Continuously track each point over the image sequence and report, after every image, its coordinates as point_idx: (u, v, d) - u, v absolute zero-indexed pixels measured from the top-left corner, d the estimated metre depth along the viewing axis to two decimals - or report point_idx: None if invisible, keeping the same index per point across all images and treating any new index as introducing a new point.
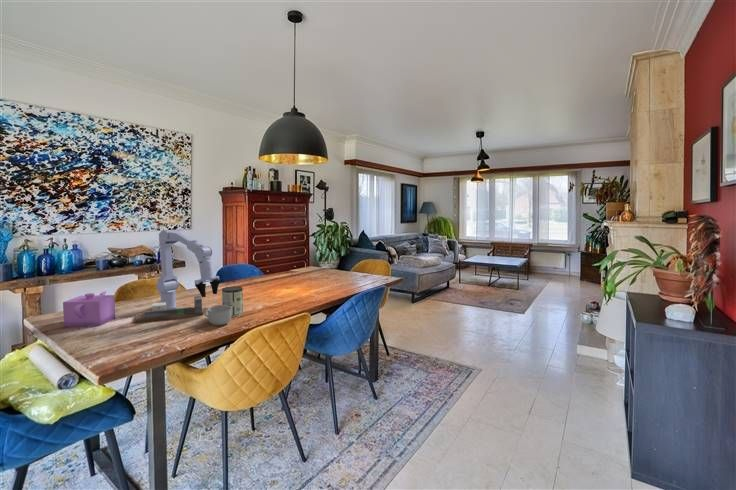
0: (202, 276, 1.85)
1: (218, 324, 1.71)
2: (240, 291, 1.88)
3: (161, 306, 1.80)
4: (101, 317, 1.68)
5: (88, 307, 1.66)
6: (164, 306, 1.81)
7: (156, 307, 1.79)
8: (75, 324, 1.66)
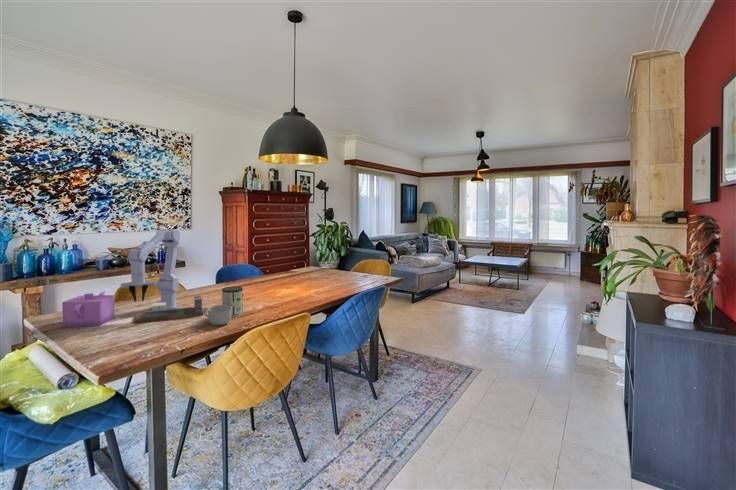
0: None
1: (218, 324, 1.71)
2: (240, 291, 1.88)
3: (161, 306, 1.80)
4: (100, 317, 1.68)
5: (88, 307, 1.66)
6: (164, 306, 1.81)
7: (156, 307, 1.79)
8: (75, 324, 1.66)
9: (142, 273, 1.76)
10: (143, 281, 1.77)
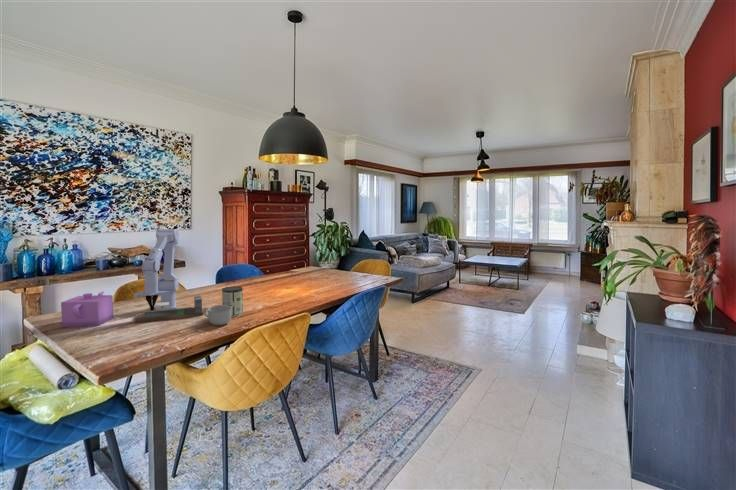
0: (145, 290, 1.79)
1: (218, 324, 1.71)
2: (240, 291, 1.88)
3: (164, 306, 1.81)
4: (99, 317, 1.68)
5: (87, 307, 1.66)
6: (167, 306, 1.82)
7: (159, 307, 1.80)
8: (73, 324, 1.66)
9: (156, 283, 1.80)
10: (156, 291, 1.80)
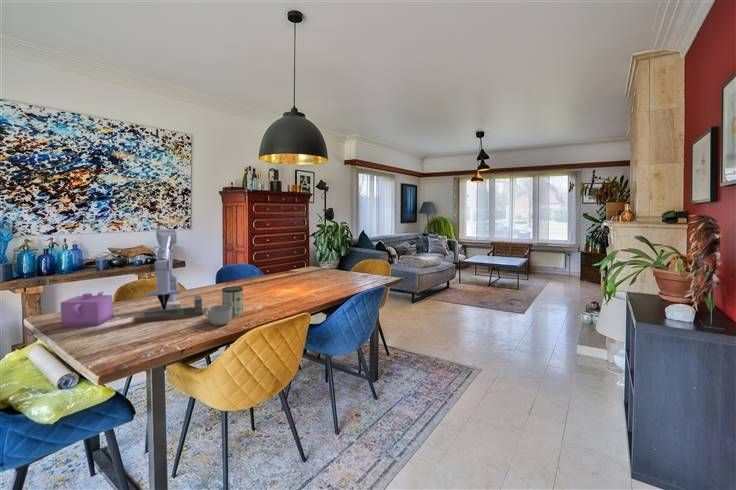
0: (157, 289, 1.82)
1: (218, 324, 1.71)
2: (240, 291, 1.88)
3: (176, 305, 1.84)
4: (99, 317, 1.68)
5: (86, 307, 1.66)
6: (179, 305, 1.84)
7: (171, 306, 1.83)
8: (73, 324, 1.66)
9: (169, 282, 1.83)
10: (168, 290, 1.82)
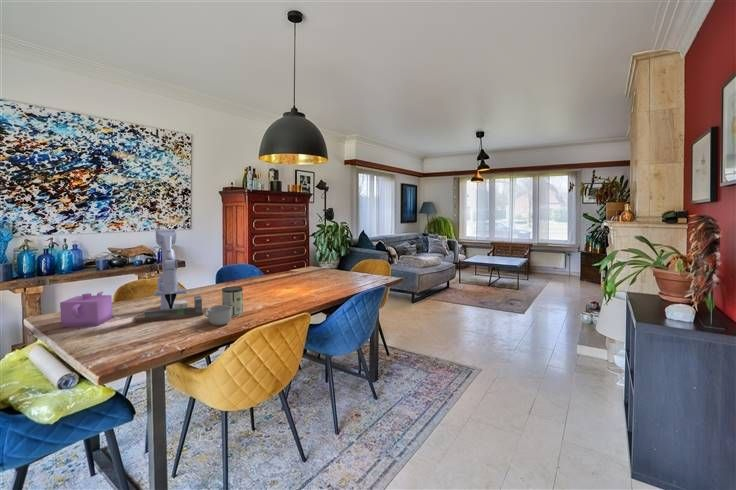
0: (164, 288, 1.83)
1: (218, 324, 1.71)
2: (240, 291, 1.88)
3: (183, 304, 1.85)
4: (99, 317, 1.68)
5: (86, 307, 1.66)
6: (186, 304, 1.86)
7: (178, 305, 1.84)
8: (73, 324, 1.66)
9: (176, 281, 1.85)
10: (175, 290, 1.84)
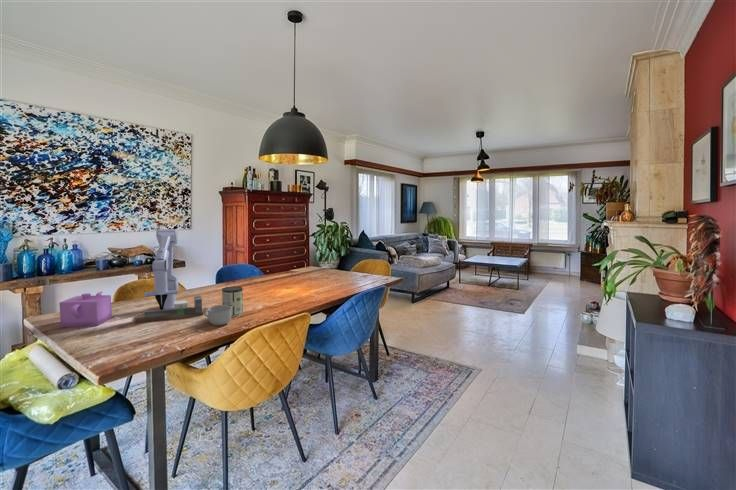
0: None
1: (218, 324, 1.71)
2: (240, 291, 1.88)
3: (183, 304, 1.85)
4: (98, 317, 1.68)
5: (85, 307, 1.66)
6: (186, 304, 1.86)
7: (178, 305, 1.84)
8: (72, 324, 1.65)
9: (166, 282, 1.82)
10: (166, 290, 1.82)
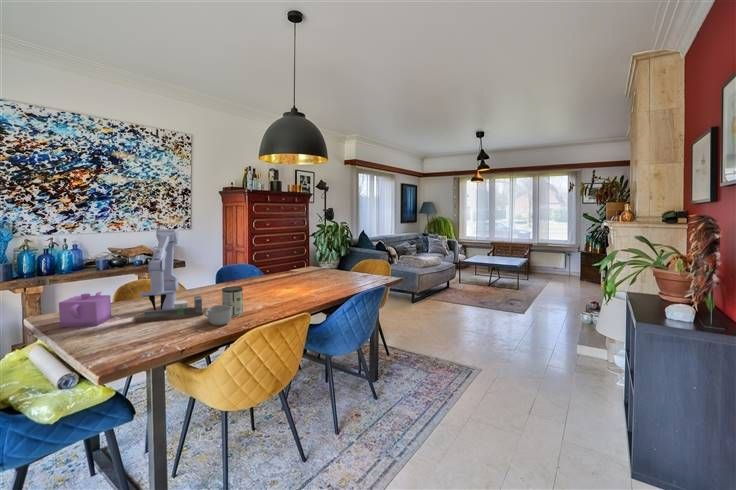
0: (151, 289, 1.80)
1: (218, 324, 1.71)
2: (240, 291, 1.88)
3: (183, 304, 1.85)
4: (98, 317, 1.68)
5: (85, 307, 1.66)
6: (186, 304, 1.86)
7: (178, 305, 1.84)
8: (71, 324, 1.65)
9: (162, 282, 1.81)
10: (162, 291, 1.81)
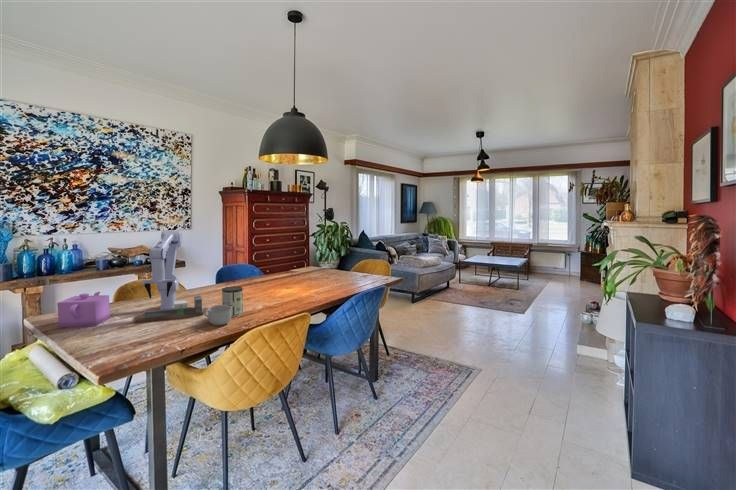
0: (152, 277, 1.83)
1: (218, 324, 1.71)
2: (240, 291, 1.88)
3: (183, 304, 1.85)
4: (97, 317, 1.68)
5: (84, 308, 1.66)
6: (186, 304, 1.86)
7: (178, 305, 1.84)
8: (70, 324, 1.65)
9: (163, 270, 1.85)
10: (163, 278, 1.84)
